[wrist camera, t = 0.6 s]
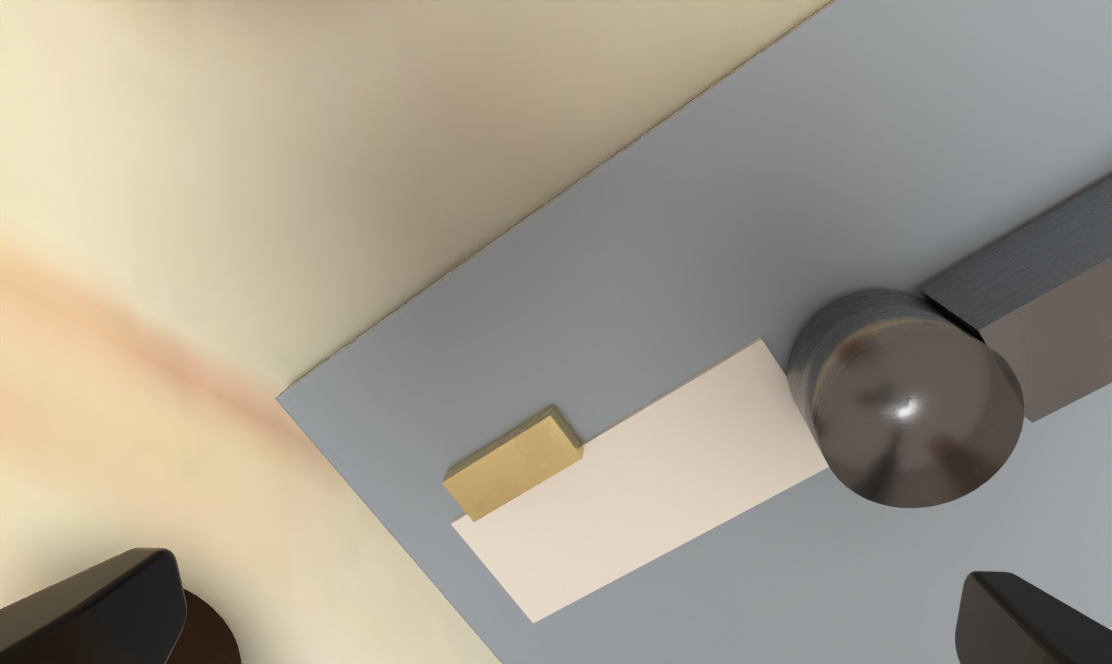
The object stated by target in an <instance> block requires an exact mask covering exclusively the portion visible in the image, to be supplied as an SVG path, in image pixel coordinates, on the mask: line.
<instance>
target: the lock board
mask: <svg viewBox="0 0 1112 664" xmlns="http://www.w3.org/2000/svg"><path fill="white" fill-rule="evenodd" d="M1111 177H1112V0H832V1H831V2H830V3H828V4H827V5H825V6H824V7H823V8H821V9H820V10H818V11H817V12H815V13H814V14H813V15H811V16H810V17H808V18H807V19H806V20H804V21H803V22H801V23H800V24H799V25H797V26H796V27H794V28H793V29H792V30H790V31H789V32H787V33H786V34H784V35H783V36H782V37H780V38H779V39H777V40H776V41H775V42H773V43H772V44H770V45H769V46H768V47H766V48H765V49H763V50H762V51H761V52H759V53H758V54H756V55H755V56H753V57H752V58H751V59H749V60H748V61H746V62H745V63H744V64H742V65H741V66H739V67H738V68H737V69H735V70H734V71H732V72H731V73H729V74H728V75H727V76H725V77H724V78H722V79H721V80H720V81H718V82H717V83H715V84H714V85H713V86H711V87H710V88H708V89H707V90H706V91H704V92H703V93H701V94H700V95H698V96H697V97H696V98H694V99H693V100H691V101H690V102H689V103H687V104H686V105H684V106H683V107H682V108H680V109H679V110H677V111H676V112H675V113H673V114H672V115H670V116H669V117H667V118H666V119H665V120H663V121H662V122H660V123H659V124H658V125H656V126H655V127H653V128H652V129H651V130H649V131H648V132H646V133H645V134H643V135H642V136H641V137H639V138H638V139H636V140H635V141H634V142H632V143H631V144H629V145H628V146H627V147H625V148H624V149H622V150H621V151H620V152H618V153H617V154H615V155H614V156H612V157H611V158H610V159H608V160H607V161H605V162H604V163H603V164H601V165H600V166H598V167H597V168H596V169H594V170H593V171H591V172H590V173H589V174H587V175H586V176H584V177H583V178H581V179H580V180H579V181H577V182H576V183H574V184H573V185H572V186H570V187H569V188H567V189H566V190H565V191H563V192H562V193H560V194H559V195H558V196H556V197H555V198H553V199H552V200H550V201H549V202H548V203H546V204H545V205H543V206H542V207H541V208H539V209H538V210H536V211H535V212H534V213H532V214H531V215H529V216H528V217H526V218H525V219H524V220H522V221H521V222H519V223H518V224H517V225H515V226H514V227H512V228H511V229H510V230H508V231H507V232H505V233H504V234H503V235H501V236H500V237H498V238H497V239H495V240H494V241H493V242H491V243H490V244H488V245H487V246H486V247H484V248H483V249H481V250H480V251H479V252H477V253H476V254H474V255H473V256H472V257H470V258H469V259H467V260H466V261H464V262H463V263H462V264H460V265H459V266H457V267H456V268H455V269H453V270H452V271H450V272H449V273H448V274H446V275H445V276H443V277H442V278H441V279H439V280H438V281H436V282H435V283H433V284H432V285H431V286H429V287H428V288H426V289H425V290H424V291H422V292H421V293H419V294H418V295H417V296H415V297H414V298H412V299H411V300H409V301H408V302H407V303H405V304H404V305H402V306H401V307H400V308H398V309H397V310H395V311H394V312H393V313H391V314H390V315H388V316H387V317H386V318H384V319H383V320H381V321H380V322H378V323H377V324H376V325H374V326H373V327H371V328H370V329H369V330H367V331H366V332H364V333H363V334H362V335H360V336H359V337H357V338H356V339H355V340H353V341H352V342H350V343H349V344H347V345H346V346H345V347H343V348H342V349H340V350H339V351H338V352H336V353H335V354H333V355H332V356H331V357H329V358H328V359H326V360H325V361H323V362H322V363H321V364H319V365H318V366H316V367H315V368H314V369H312V370H311V371H309V372H308V373H307V374H305V375H304V376H302V377H301V378H300V379H298V380H297V381H295V382H294V383H292V384H291V385H290V386H288V387H287V388H286V389H285V390H284V391H283V392H282V393H281V394H279V395H278V396H277V397H276V398H275V399H276V400H277V401H278V402H279V403H280V405H281V406H282V407H283V408H284V409H285V410H286V412H287V413H288V414H289V415H290V416H291V417H292V419H293V420H294V421H295V422H296V423H297V425H298V426H299V427H300V428H301V429H302V430H303V432H304V433H305V434H306V435H307V436H308V437H309V439H310V440H311V441H312V442H313V443H314V444H315V446H316V447H317V448H318V449H319V450H320V451H321V453H322V454H323V455H324V456H325V457H326V458H327V460H328V461H329V462H330V463H331V464H332V465H333V467H334V468H335V469H336V470H337V471H338V472H339V474H340V475H341V476H342V477H343V478H344V479H345V481H346V482H347V483H348V484H349V485H350V486H351V488H352V489H353V490H354V491H355V492H356V493H357V495H358V496H359V497H360V498H361V499H362V500H363V502H364V503H365V504H366V505H367V506H368V507H369V509H370V510H371V511H372V512H373V513H374V514H375V516H376V517H377V518H378V519H379V520H380V521H381V523H382V524H383V525H384V526H385V527H386V529H387V530H388V531H389V532H390V533H391V534H392V536H393V537H394V538H395V539H396V540H397V541H398V543H399V544H400V545H401V546H402V547H403V548H404V550H405V551H406V552H407V553H408V554H409V555H410V557H411V558H412V559H413V560H414V561H415V562H416V564H417V565H418V566H419V567H420V568H421V569H422V571H423V572H424V573H425V574H426V575H427V576H428V578H429V579H430V580H431V581H432V582H433V583H434V585H435V586H436V587H437V588H438V589H439V590H440V592H441V593H442V594H443V595H444V596H445V597H446V599H447V600H448V601H449V602H450V603H451V604H452V606H453V607H454V608H455V609H456V610H457V611H458V613H459V614H460V615H461V616H462V617H463V618H464V620H465V621H466V622H467V623H468V624H469V625H470V627H471V628H472V629H473V630H474V631H475V633H476V634H477V635H478V636H479V637H480V638H481V640H482V641H483V642H484V643H485V644H486V645H487V647H488V648H489V649H490V650H491V651H492V652H493V654H494V655H495V656H496V657H497V658H498V659H499V661H500V662H501V663H502V664H960V662H959V659H958V656H957V652H956V647H955V629H956V623H957V618H958V612H959V606H960V601H961V595H962V589H963V584H964V581H965V578H966V577H967V575H968V574H970V573H971V572H973V571H998V572H1010V573H1013V574H1015V575H1017V576H1019V577H1020V578H1022V579H1024V580H1025V581H1027V582H1029V583H1031V584H1032V585H1034V586H1036V587H1038V588H1039V589H1041V590H1043V591H1044V592H1046V593H1048V594H1050V595H1051V596H1053V597H1055V598H1057V599H1058V600H1060V601H1062V602H1063V603H1065V604H1067V605H1069V606H1070V607H1072V608H1074V609H1076V610H1077V611H1079V612H1081V613H1082V614H1084V615H1086V616H1088V617H1089V618H1091V619H1093V620H1095V621H1096V622H1098V623H1100V624H1101V625H1103V626H1105V627H1107V628H1109V627H1112V383H1110V384H1108V385H1106V386H1104V387H1102V388H1100V389H1099V390H1097V391H1095V392H1093V393H1091V394H1089V395H1087V396H1085V397H1083V398H1081V399H1079V400H1077V401H1075V402H1073V403H1071V404H1069V405H1067V406H1065V407H1063V408H1061V409H1059V410H1057V411H1055V412H1053V413H1051V414H1049V415H1047V416H1045V417H1043V418H1041V419H1039V420H1037V421H1035V422H1033V423H1032V422H1030V421H1029V420H1028V419H1027V418H1026V417H1024V421H1023V426H1022V431H1021V434H1020V437H1019V440H1018V442H1017V444H1016V446H1015V448H1014V450H1013V452H1012V454H1011V455H1010V457H1009V458H1008V460H1007V461H1006V463H1005V464H1004V465H1003V466H1002V467H1001V469H1000V470H999V471H998V472H997V473H996V474H995V475H994V476H993V477H992V478H990V479H989V480H988V481H987V482H986V483H984V484H983V485H982V486H980V487H979V488H977V489H976V490H974V491H972V492H970V493H969V494H967V495H965V496H963V497H961V498H958V499H956V500H954V501H951V502H947V503H944V504H941V505H936V506H931V507H924V508H897V507H890V506H886V505H882V504H878V503H875V502H872V501H870V500H867V499H865V498H863V497H861V496H859V495H857V494H856V493H854V492H853V491H851V490H850V489H849V488H847V487H846V486H845V485H844V484H843V483H842V482H841V481H840V480H839V479H838V478H837V477H836V476H835V474H834V473H833V472H832V471H831V469H830V467H829V466H828V464H827V462H826V460H825V458H824V457H823V455H822V453H821V451H820V449H819V447H818V445H817V443H816V441H815V440H814V438H813V436H812V434H811V432H810V430H809V428H808V426H807V424H806V423H805V421H804V419H803V417H802V415H801V413H800V411H799V409H798V407H797V406H796V404H795V402H794V400H793V397H792V394H791V392H790V387H789V383H788V363H789V358H790V353H791V350H792V348H793V345H794V343H795V341H796V339H797V337H798V335H799V333H800V332H801V330H802V329H803V328H804V326H805V325H806V324H807V323H808V321H809V320H810V319H811V318H812V317H813V316H814V315H815V314H817V313H818V312H819V311H820V310H821V309H823V308H824V307H826V306H827V305H828V304H830V303H832V302H834V301H835V300H837V299H839V298H841V297H844V296H847V295H849V294H852V293H856V292H860V291H864V290H872V289H890V290H898V291H902V292H906V293H910V294H912V295H915V296H917V297H919V298H921V299H923V300H925V299H924V297H923V295H922V294H921V292H920V290H919V289H920V288H921V287H923V286H925V285H926V284H928V283H930V282H932V281H933V280H935V279H937V278H939V277H940V276H942V275H944V274H945V273H947V272H949V271H951V270H952V269H954V268H956V267H958V266H959V265H961V264H963V263H964V262H966V261H968V260H970V259H971V258H973V257H975V256H977V255H978V254H980V253H982V252H984V251H985V250H987V249H989V248H990V247H992V246H994V245H996V244H997V243H999V242H1001V241H1003V240H1004V239H1006V238H1008V237H1009V236H1011V235H1013V234H1015V233H1016V232H1018V231H1020V230H1022V229H1023V228H1025V227H1027V226H1028V225H1030V224H1032V223H1034V222H1035V221H1037V220H1039V219H1041V218H1042V217H1044V216H1046V215H1047V214H1049V213H1051V212H1053V211H1054V210H1056V209H1058V208H1060V207H1061V206H1063V205H1065V204H1067V203H1068V202H1070V201H1072V200H1073V199H1075V198H1077V197H1079V196H1080V195H1082V194H1084V193H1086V192H1087V191H1089V190H1091V189H1092V188H1094V187H1096V186H1098V185H1099V184H1101V183H1103V182H1105V181H1106V180H1108V179H1110V178H1111ZM552 404H553V405H554V406H555V407H556V409H557V410H558V411H559V413H560V414H561V415H562V417H563V418H564V419H565V420H566V422H567V423H568V424H569V426H570V427H571V428H572V430H573V431H574V432H575V434H576V435H577V436H578V438H579V439H580V440H581V442H582V447H583V448H584V452H583V458H582V459H581V460H579V461H577V462H576V463H574V464H572V465H570V466H569V467H567V468H565V469H564V470H562V471H560V472H559V473H557V474H555V475H554V476H552V477H550V478H548V479H547V480H545V481H543V482H542V483H540V484H538V485H537V486H535V487H533V488H531V489H530V490H528V491H526V492H525V493H523V494H521V495H520V496H518V497H516V498H514V499H513V500H511V501H509V502H508V503H506V504H504V505H503V506H501V507H499V508H497V509H496V510H494V511H492V512H491V513H489V514H487V515H486V516H484V517H482V518H481V519H479V520H477V521H475V522H473V521H472V520H471V518H470V517H469V516H468V515H467V513H466V512H465V511H464V510H463V509H462V507H461V506H460V505H459V504H458V502H457V501H456V500H455V499H454V498H453V496H452V495H451V494H450V493H449V491H448V490H447V489H446V488H445V487H444V485H443V484H442V480H443V478H444V476H445V474H446V472H447V470H448V469H449V468H451V467H452V466H454V465H456V464H457V463H459V462H460V461H462V460H464V459H465V458H467V457H469V456H470V455H472V454H473V453H475V452H477V451H478V450H480V449H481V448H483V447H485V446H486V445H488V444H490V443H491V442H493V441H494V440H496V439H498V438H499V437H501V436H502V435H504V434H506V433H507V432H509V431H510V430H512V429H514V428H515V427H517V426H519V425H520V424H522V423H523V422H525V421H527V420H528V419H530V418H531V417H533V416H535V415H536V414H538V413H540V412H541V411H543V410H544V409H546V408H548V407H549V406H551V405H552Z"/></svg>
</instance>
